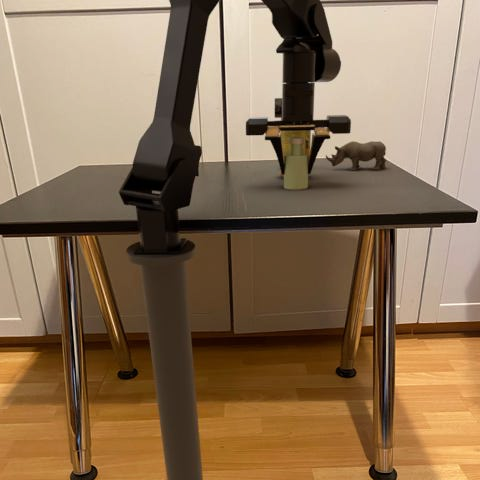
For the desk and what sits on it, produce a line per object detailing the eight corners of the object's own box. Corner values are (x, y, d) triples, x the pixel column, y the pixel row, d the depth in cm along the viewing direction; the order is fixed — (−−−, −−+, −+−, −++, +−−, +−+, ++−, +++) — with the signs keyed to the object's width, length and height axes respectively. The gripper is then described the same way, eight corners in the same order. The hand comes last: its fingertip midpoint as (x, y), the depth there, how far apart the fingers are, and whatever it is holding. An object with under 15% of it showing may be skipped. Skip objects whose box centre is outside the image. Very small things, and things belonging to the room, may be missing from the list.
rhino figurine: (324, 168, 112) (325, 141, 110) (384, 167, 111) (387, 139, 108) (325, 171, 109) (326, 143, 106) (387, 170, 107) (390, 141, 105)
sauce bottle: (311, 179, 100) (315, 72, 91) (281, 180, 100) (282, 73, 91) (307, 174, 106) (310, 72, 97) (279, 174, 106) (279, 73, 97)
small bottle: (308, 189, 91) (310, 138, 87) (283, 189, 91) (284, 139, 87) (307, 184, 95) (308, 136, 91) (283, 185, 95) (284, 136, 91)
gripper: (346, 81, 91) (340, 166, 98) (248, 84, 93) (250, 168, 100) (354, 81, 81) (347, 176, 88) (244, 84, 83) (246, 177, 90)
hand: (296, 174), depth 92 cm, fingers closed on small bottle, 4 cm apart
